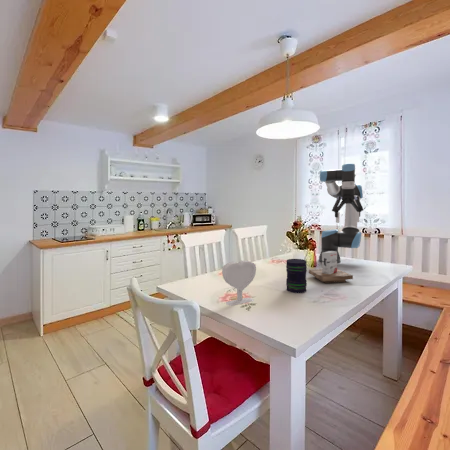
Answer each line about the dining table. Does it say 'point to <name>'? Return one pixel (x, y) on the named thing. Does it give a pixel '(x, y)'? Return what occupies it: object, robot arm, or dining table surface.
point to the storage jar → (296, 275)
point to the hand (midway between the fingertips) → (347, 222)
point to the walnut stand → (331, 276)
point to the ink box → (329, 262)
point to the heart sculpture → (239, 278)
